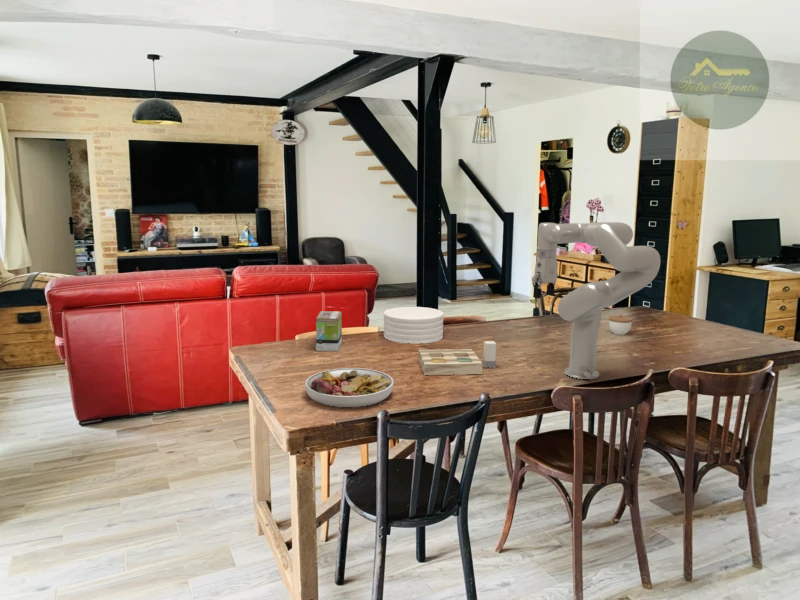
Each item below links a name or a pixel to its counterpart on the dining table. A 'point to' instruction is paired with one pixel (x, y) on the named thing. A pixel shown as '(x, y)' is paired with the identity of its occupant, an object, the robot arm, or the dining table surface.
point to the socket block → (449, 362)
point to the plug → (489, 354)
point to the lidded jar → (620, 324)
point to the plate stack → (413, 325)
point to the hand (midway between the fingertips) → (543, 296)
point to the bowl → (349, 387)
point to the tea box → (328, 331)
